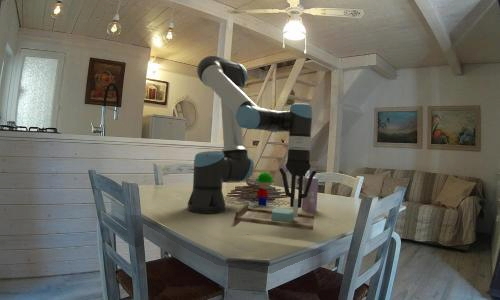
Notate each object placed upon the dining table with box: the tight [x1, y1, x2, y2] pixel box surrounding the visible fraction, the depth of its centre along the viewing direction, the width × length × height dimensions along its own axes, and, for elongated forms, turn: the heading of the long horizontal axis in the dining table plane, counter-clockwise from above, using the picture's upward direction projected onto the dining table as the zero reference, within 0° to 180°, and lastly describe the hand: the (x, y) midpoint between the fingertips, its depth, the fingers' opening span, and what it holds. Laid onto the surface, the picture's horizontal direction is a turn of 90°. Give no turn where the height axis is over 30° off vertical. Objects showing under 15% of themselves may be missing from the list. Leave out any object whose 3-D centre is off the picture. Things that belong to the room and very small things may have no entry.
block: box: [270, 207, 295, 223], centre depth 103 cm, size 7×7×3 cm
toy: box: [255, 171, 275, 207], centre depth 131 cm, size 8×8×15 cm
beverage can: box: [301, 175, 319, 213], centre depth 122 cm, size 6×6×15 cm
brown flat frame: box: [233, 203, 315, 230], centre depth 104 cm, size 26×16×4 cm, turn 76°
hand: (295, 216), depth 102 cm, fingers closed
